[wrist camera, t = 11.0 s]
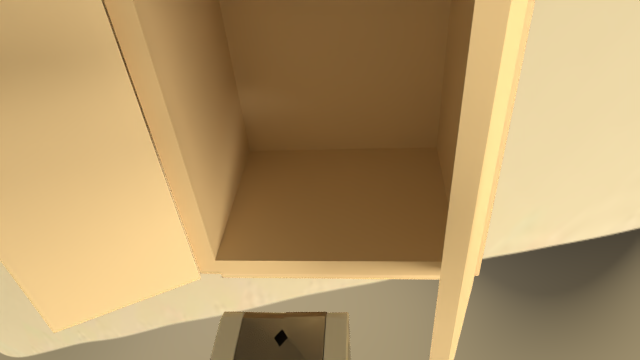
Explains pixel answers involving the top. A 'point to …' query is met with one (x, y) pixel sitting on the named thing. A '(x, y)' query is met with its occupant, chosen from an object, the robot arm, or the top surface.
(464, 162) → the flap
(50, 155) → the flap
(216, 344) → the robot arm
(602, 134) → the top surface
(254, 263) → the carton
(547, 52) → the top surface
